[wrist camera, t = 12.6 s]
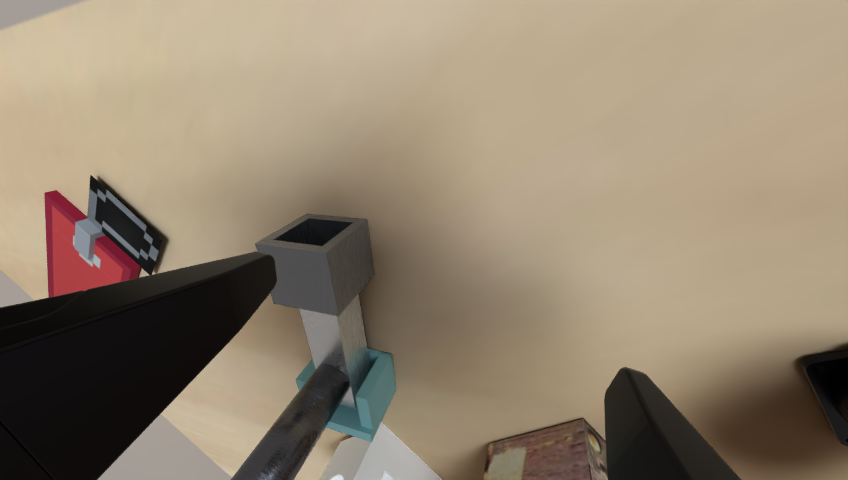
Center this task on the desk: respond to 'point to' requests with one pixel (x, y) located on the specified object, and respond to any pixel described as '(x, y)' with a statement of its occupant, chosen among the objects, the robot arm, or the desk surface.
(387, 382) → the socket block
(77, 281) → the red board with handle
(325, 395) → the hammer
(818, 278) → the desk surface
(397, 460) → the bracket
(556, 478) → the book
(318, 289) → the outer sleeve
